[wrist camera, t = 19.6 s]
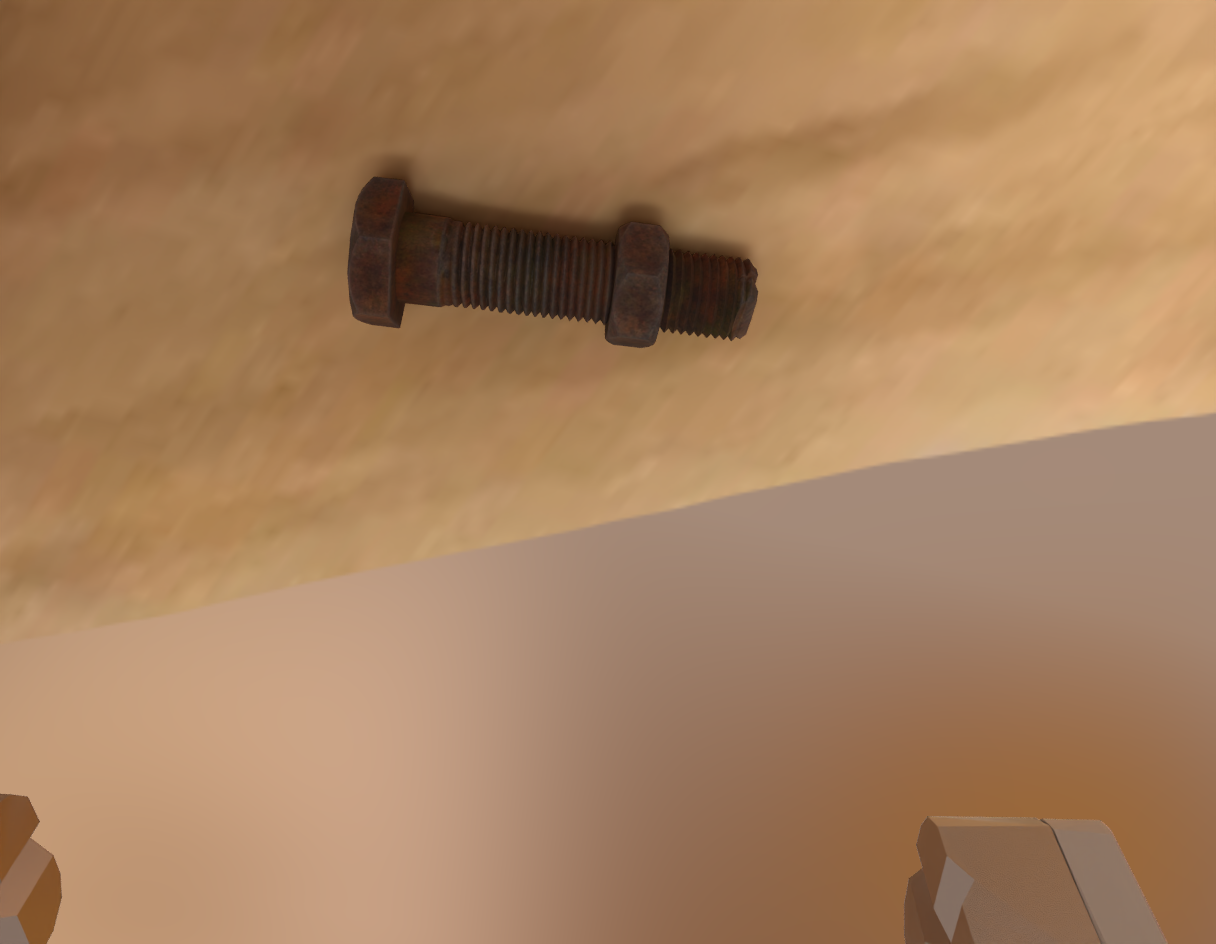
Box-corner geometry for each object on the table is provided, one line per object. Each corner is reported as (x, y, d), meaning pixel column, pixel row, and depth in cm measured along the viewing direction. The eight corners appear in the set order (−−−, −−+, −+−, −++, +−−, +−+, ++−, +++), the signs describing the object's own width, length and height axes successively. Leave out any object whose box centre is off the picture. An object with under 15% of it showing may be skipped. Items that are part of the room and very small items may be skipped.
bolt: (735, 286, 43) (380, 240, 42) (765, 200, 39) (369, 147, 38) (735, 399, 40) (353, 353, 39) (768, 319, 36) (338, 265, 35)
